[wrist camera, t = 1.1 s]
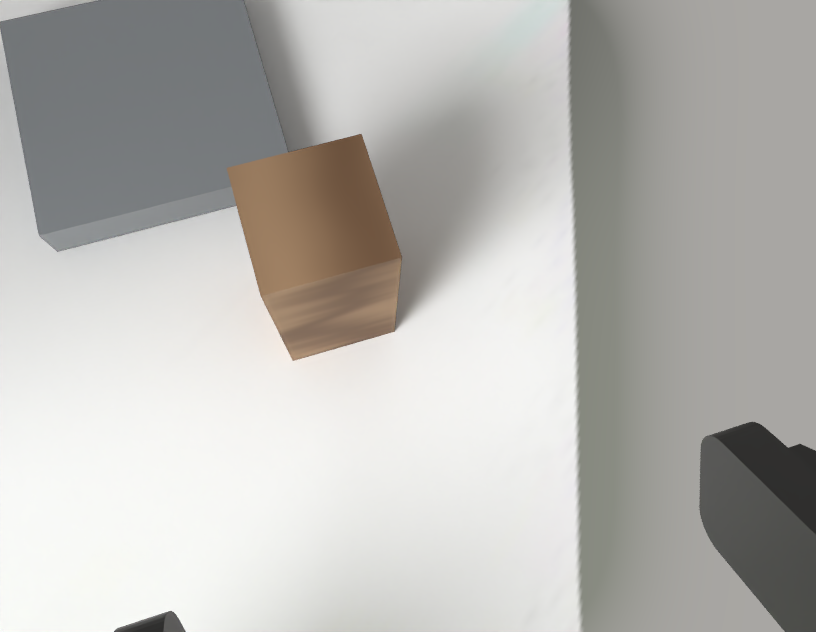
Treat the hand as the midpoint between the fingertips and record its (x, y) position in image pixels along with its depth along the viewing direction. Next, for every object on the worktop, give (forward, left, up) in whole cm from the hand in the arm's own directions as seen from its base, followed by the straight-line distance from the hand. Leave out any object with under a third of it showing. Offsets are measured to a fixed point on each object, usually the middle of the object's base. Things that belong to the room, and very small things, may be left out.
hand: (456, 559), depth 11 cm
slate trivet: (-6, +24, -22) cm, 33 cm away
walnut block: (0, +12, -22) cm, 25 cm away
